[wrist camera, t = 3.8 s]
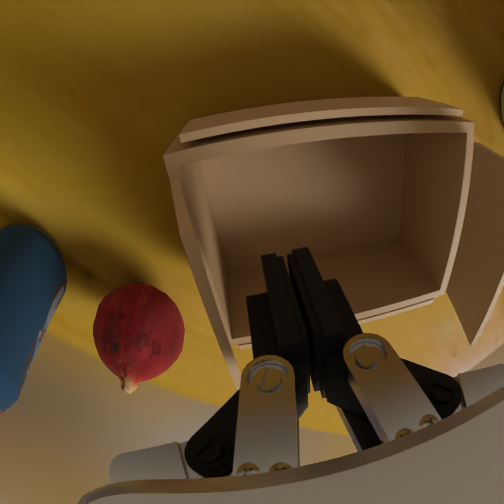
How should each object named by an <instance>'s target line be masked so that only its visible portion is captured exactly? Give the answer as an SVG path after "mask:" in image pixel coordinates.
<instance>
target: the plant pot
mask: <svg viewBox="0 0 504 504" xmlns="http://www.w3.org/2000/svg"><path fill="white" fill-rule="evenodd" d="M501 113H502V119H503V123H504V85H503V89H502V95H501Z"/></svg>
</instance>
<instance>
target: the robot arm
mask: <svg viewBox="0 0 504 504" xmlns="http://www.w3.org/2000/svg"><path fill="white" fill-rule="evenodd" d="M261 262H262V268H263V274H264V279H265V285H266V291H267V292H266V293H260V294H255V295H250V296H246V303H247V311H248V319H249V327H250V335H251V342H252V350H253V358H254V359H253V360H252V361H251V362H249V363H248V364H247V365H246V367H245V368H244V369H243V371H242V375H241V382H240V389H239V390H238V391H237V392H236V393H235V394H234V395H233V396H232V397H231V398H230V399H229V400H228V401H227V402H226V403H225V404H224V405H223V406H222V407H221V408H220V409H219V410H218V411H217V412H216V413H215V414H214V416H212V418H210V419H209V420H208V422H206V423H205V424H204V425H203V426H202V427H201V428H200V429H199V430H198V431H197V432H196V433H195V434H194V435H193V436H192V437H191V439H190V440H189V441H186V442H183V443H178V442H172V443H169V444H164V445H160V446H156V447H151V448H146V449H142V450H137V451H132V452H126V453H122V454H120V455H117V456H116V457H115V458H114V459H113V460H112V462H111V464H110V467H109V475H110V481H111V484H108V485H105V486H102V487H99V488H96V489H94V490H92V491H90V492H88V493H86V494H85V495H84V496H83V497H82V498H81V499H80V500H79V502H78V504H504V364H498V365H495V366H491V367H487V368H483V369H479V370H474V371H469V372H464V373H460V374H458V375H457V377H451V376H449V375H447V374H444V373H441V372H438V371H435V370H432V369H430V368H427V367H424V366H421V365H418V364H416V363H413V362H410V361H408V360H405V359H402V358H400V357H399V356H398V354H397V353H396V352H395V350H394V349H393V347H392V346H391V345H390V343H389V342H388V341H387V340H386V339H385V338H383V337H381V336H379V335H377V334H372V333H363V332H362V330H361V327H360V325H359V323H358V321H357V319H356V317H355V315H354V313H353V310H352V308H351V306H350V304H349V302H348V300H347V298H346V296H345V294H344V292H343V290H342V288H341V286H340V284H339V282H338V280H337V279H336V278H334V279H330V280H325V281H323V279H322V277H321V274H320V272H319V270H318V268H317V266H316V263H315V261H314V259H313V257H312V255H311V253H310V250H309V248H308V247H302V248H297V249H292V254H288V255H287V262H288V271H289V274H288V271H287V268H286V265H285V262H284V259H283V256H277V255H276V253H271V254H266V255H261ZM310 377H311V380H312V384H313V388H314V391H319V390H320V392H321V395H322V398H327V402H329V403H331V404H333V405H335V406H336V407H337V410H338V412H339V414H340V416H341V418H342V421H343V423H344V425H345V427H346V429H347V431H348V433H349V435H350V437H351V439H352V441H353V443H354V445H355V447H356V449H357V451H358V452H356V453H353V454H350V455H346V456H342V457H339V458H335V459H331V460H327V461H323V462H319V463H314V464H310V465H305V466H300V444H299V443H300V442H299V417H300V416H301V415H302V414H303V412H304V411H305V410H306V408H307V407H308V393H310Z"/></svg>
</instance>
